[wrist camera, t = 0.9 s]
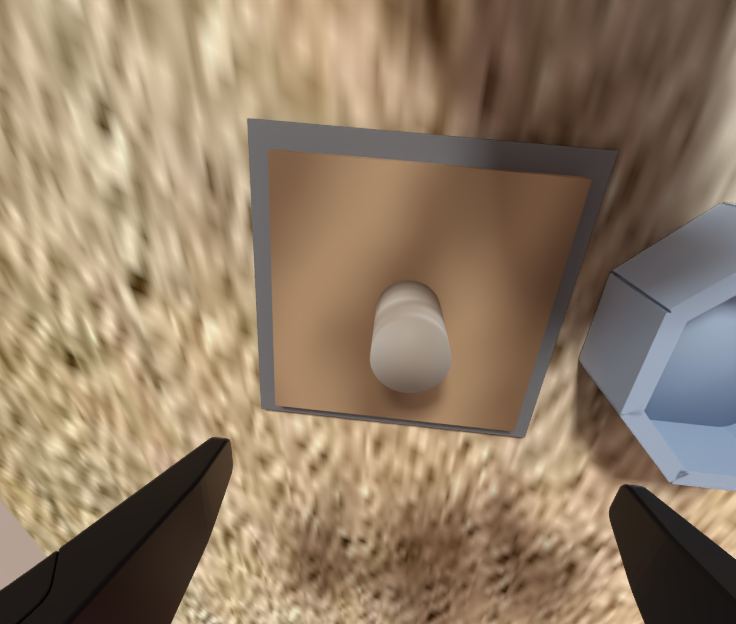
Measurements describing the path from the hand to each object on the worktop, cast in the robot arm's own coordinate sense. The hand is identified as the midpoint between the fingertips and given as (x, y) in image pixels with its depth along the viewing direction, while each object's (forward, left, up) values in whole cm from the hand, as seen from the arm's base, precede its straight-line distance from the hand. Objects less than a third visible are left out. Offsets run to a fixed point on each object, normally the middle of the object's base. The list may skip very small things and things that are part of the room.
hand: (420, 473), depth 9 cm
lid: (0, 0, -10) cm, 10 cm away
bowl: (-14, 0, -10) cm, 17 cm away
